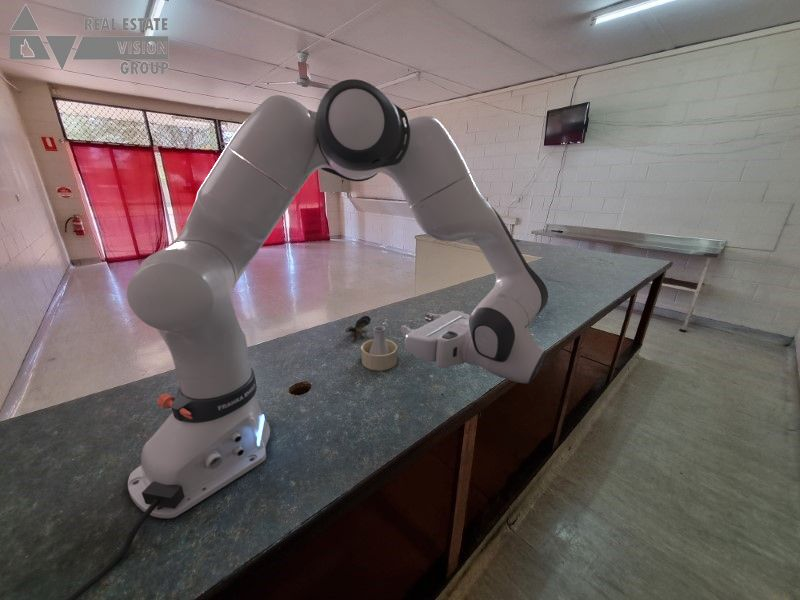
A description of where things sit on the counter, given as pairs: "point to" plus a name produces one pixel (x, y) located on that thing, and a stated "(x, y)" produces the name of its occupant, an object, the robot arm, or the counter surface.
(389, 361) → the beige round bowl
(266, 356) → the counter surface
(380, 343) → the flask
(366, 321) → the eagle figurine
